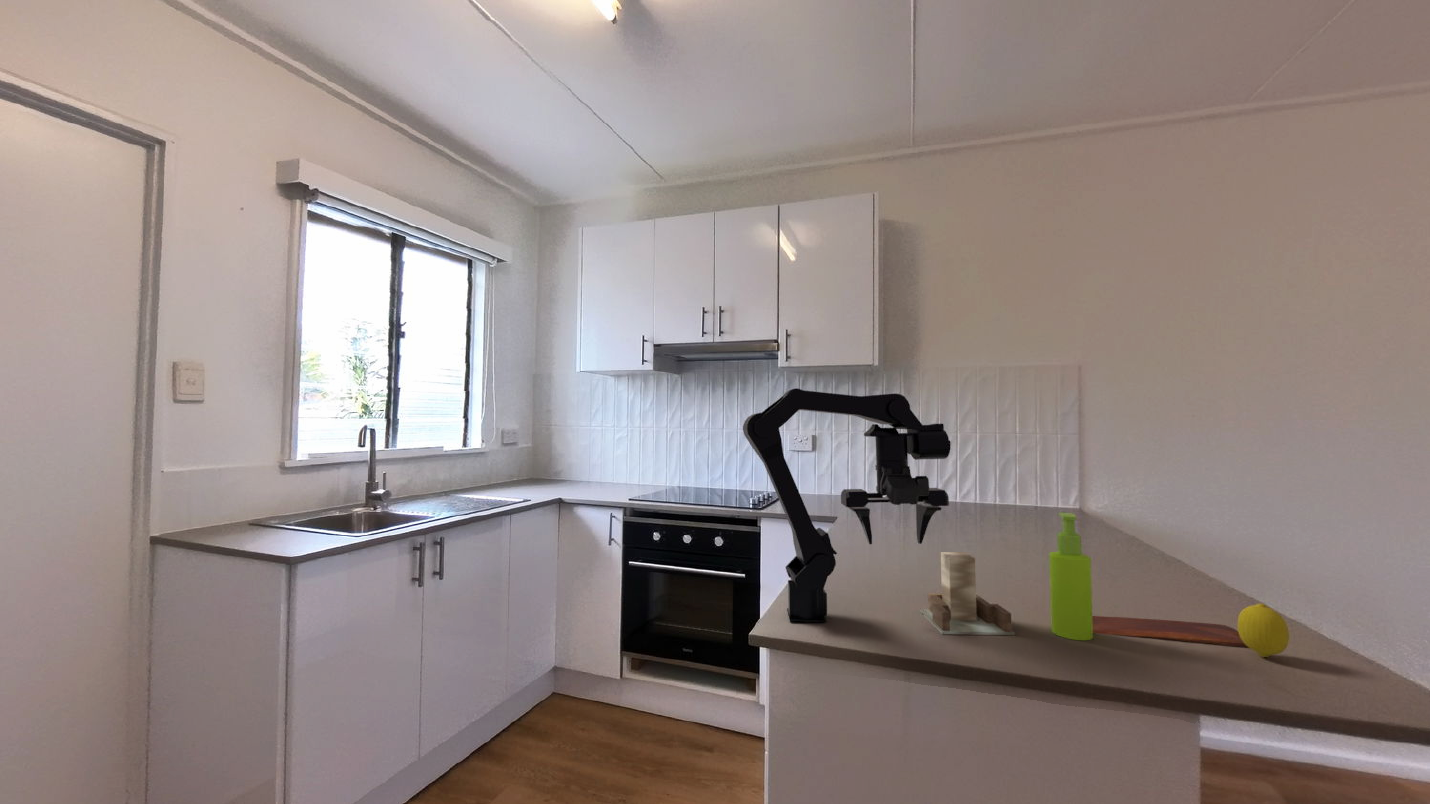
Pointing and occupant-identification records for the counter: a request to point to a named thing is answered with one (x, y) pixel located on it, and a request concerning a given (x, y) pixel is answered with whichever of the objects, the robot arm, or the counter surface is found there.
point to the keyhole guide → (988, 620)
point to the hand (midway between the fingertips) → (894, 543)
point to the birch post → (959, 585)
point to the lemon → (1263, 630)
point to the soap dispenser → (1070, 585)
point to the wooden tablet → (1168, 630)
